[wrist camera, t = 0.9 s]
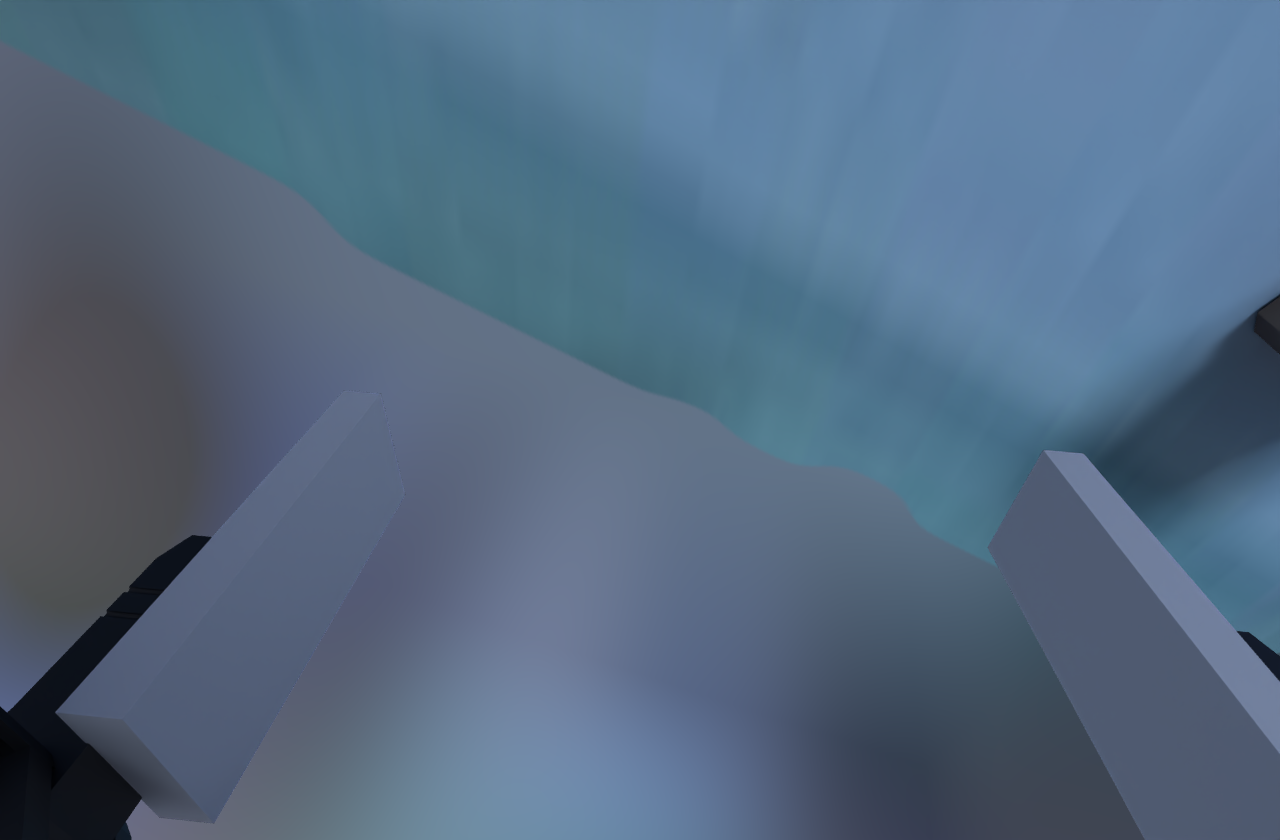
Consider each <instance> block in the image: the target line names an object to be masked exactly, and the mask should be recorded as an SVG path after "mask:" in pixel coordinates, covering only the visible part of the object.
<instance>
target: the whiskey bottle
mask: <svg viewBox="0 0 1280 840" xmlns="http://www.w3.org/2000/svg"><path fill="white" fill-rule="evenodd" d="M1254 332H1255V333H1256V334H1257V335H1258V336H1260V337H1261V338H1262V339H1263V340H1264V341H1265V342H1266V343H1267V344H1269V345H1270V346H1271V347H1272V348H1273V349H1274V350H1275V351H1276V352H1277V353H1279V354H1280V297H1279V298H1277V299H1276V300H1275V301H1273V302H1272V303H1270V304H1269V305H1268V306H1266V307H1265V308H1263V309H1262V310H1261V311H1259V312H1258V314H1257V319H1256V324H1255V329H1254Z"/></svg>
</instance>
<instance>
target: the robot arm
mask: <svg viewBox="0 0 1280 840" xmlns="http://www.w3.org/2000/svg"><path fill="white" fill-rule="evenodd" d="M404 496H405V490H404V486H403V482H402V478H401V474H400V470H399V466H398V461H397V457H396V453H395V449H394V445H393V441H392V437H391V432H390V428H389V424H388V420H387V416H386V412H385V407H384V403H383V399H382V395H381V393H370V392H358V391H346V390H344V391H343V392H342V393H341V394H340V395H339V396H338V397H337V399H336V400H335V401H334V402H333V403H332V404H331V405H330V406H329V407H328V409H327V410H326V411H325V412H324V413H323V414H322V415H321V416H320V418H319V419H318V420H317V421H316V422H315V423H314V424H313V425H312V426H311V428H310V429H309V430H308V431H307V432H306V433H305V434H304V435H303V436H302V438H301V439H300V440H299V441H298V442H297V443H296V445H294V447H293V448H292V449H291V450H290V451H289V452H288V453H287V454H286V455H285V457H284V458H283V459H282V460H281V461H280V462H279V463H278V464H277V465H276V467H275V468H274V469H273V470H272V471H271V472H270V473H269V474H268V475H267V477H266V478H265V479H264V480H263V481H262V482H261V483H260V485H259V486H258V487H257V488H256V489H255V490H254V491H253V492H252V493H251V495H250V496H249V497H248V498H247V499H246V500H245V501H244V502H243V504H242V505H241V506H240V507H239V508H238V509H237V510H236V511H235V512H234V514H233V515H232V516H231V517H230V518H229V519H228V520H227V521H226V523H224V525H223V526H222V527H221V528H220V529H219V530H218V531H217V532H216V534H215V535H214V536H213V537H206V536H196V535H192V536H190V537H189V538H187V539H185V540H184V541H182V542H181V543H179V544H178V545H176V546H175V547H173V548H172V549H170V550H169V551H167V552H166V553H164V554H162V555H161V556H159V557H158V558H157V559H155V560H154V561H153V562H152V564H151V565H150V566H149V567H148V568H147V569H146V570H145V571H144V572H143V573H142V574H141V575H140V576H139V577H138V578H137V579H136V580H135V581H134V582H133V583H132V584H131V585H130V587H129V588H130V589H129V591H128V592H124V593H123V594H122V595H121V596H120V597H119V598H118V599H117V600H116V601H115V602H114V603H113V604H112V605H111V606H110V607H109V608H108V609H107V614H106V615H105V616H104V617H101V616H100V618H99V619H98V620H97V621H96V622H95V623H94V624H93V625H92V626H91V627H90V628H89V629H88V630H87V631H86V632H85V633H84V634H83V635H82V636H81V637H80V638H79V639H78V641H76V642H75V643H74V645H73V646H72V647H71V648H70V649H69V650H68V651H67V652H66V653H65V654H64V655H63V656H62V657H61V658H60V659H59V660H58V661H57V662H56V663H55V664H54V665H53V666H52V667H51V668H50V669H49V670H48V672H47V673H46V674H45V675H44V676H43V677H42V678H41V679H40V680H39V681H38V682H37V683H36V684H35V685H34V686H33V687H32V688H31V689H30V690H29V691H28V692H27V693H26V694H25V695H24V697H23V698H22V699H21V700H20V701H19V702H18V703H17V704H16V705H15V706H14V707H13V708H12V709H11V710H10V711H8V712H6V711H5V710H3V709H2V708H1V707H0V840H131V835H130V832H129V829H128V826H127V823H126V820H127V819H128V817H129V816H130V815H131V813H132V811H133V810H134V809H135V807H136V806H137V804H138V803H139V802H140V800H141V799H142V800H143V801H144V802H145V803H146V804H147V805H148V806H149V807H150V808H151V809H152V810H153V811H154V812H155V813H156V814H157V815H158V816H159V817H160V818H167V819H177V820H186V821H195V822H204V823H215V821H216V819H217V817H218V816H219V814H220V812H221V811H222V809H223V807H224V805H225V804H226V802H227V800H228V798H229V797H230V795H231V794H232V792H233V790H234V788H235V787H236V785H237V783H238V781H239V780H240V778H241V776H242V775H243V773H244V771H245V769H246V768H247V766H248V764H249V762H250V761H251V759H252V757H253V756H254V754H255V752H256V751H257V749H258V747H259V745H260V744H261V742H262V740H263V738H264V737H265V735H266V733H267V732H268V730H269V728H270V726H271V725H272V723H273V721H274V720H275V718H276V716H277V714H278V713H279V711H280V709H281V708H282V706H283V704H284V703H285V701H286V699H287V697H288V696H289V694H290V692H291V690H292V689H293V687H294V685H295V684H296V682H297V680H298V678H299V677H300V675H301V673H302V672H303V670H304V668H305V666H306V664H307V663H308V661H309V660H310V658H311V656H312V654H313V653H314V651H315V649H316V647H317V646H318V644H319V642H320V640H321V639H322V637H323V636H324V634H325V632H326V630H327V628H328V627H329V625H330V623H331V622H332V620H333V618H334V617H335V615H336V613H337V611H338V610H339V608H340V606H341V605H342V603H343V601H344V599H345V598H346V596H347V594H348V592H349V591H350V589H351V587H352V585H353V584H354V582H355V580H356V579H357V577H358V575H359V574H360V572H361V570H362V568H363V566H364V565H365V563H366V562H367V560H368V558H369V557H370V555H371V553H372V551H373V549H374V548H375V546H376V544H377V543H378V541H379V539H380V538H381V536H382V534H383V532H384V531H385V529H386V527H387V526H388V524H389V522H390V520H391V519H392V517H393V515H394V513H395V512H396V510H397V508H398V507H399V505H400V503H401V502H402V500H403V498H404ZM988 549H989V551H990V553H991V555H992V556H993V558H994V560H995V562H996V564H997V566H998V568H999V569H1000V571H1001V573H1002V575H1003V577H1004V579H1005V581H1006V582H1007V584H1008V586H1009V588H1010V590H1011V592H1012V594H1013V595H1014V597H1015V599H1016V601H1017V603H1018V605H1019V607H1020V608H1021V610H1022V612H1023V614H1024V616H1025V618H1026V620H1027V621H1028V623H1029V625H1030V627H1031V629H1032V631H1033V632H1034V634H1035V636H1036V638H1037V640H1038V642H1039V644H1040V646H1041V647H1042V649H1043V651H1044V653H1045V655H1046V657H1047V659H1048V660H1049V662H1050V664H1051V666H1052V668H1053V670H1054V672H1055V673H1056V675H1057V677H1058V679H1059V681H1060V683H1061V684H1062V686H1063V688H1064V690H1065V692H1066V694H1067V696H1068V698H1069V699H1070V701H1071V703H1072V705H1073V707H1074V709H1075V711H1076V712H1077V714H1078V716H1079V718H1080V720H1081V722H1082V724H1083V725H1084V727H1085V729H1086V731H1087V733H1088V735H1089V737H1090V739H1091V740H1092V742H1093V744H1094V746H1095V748H1096V750H1097V751H1098V753H1099V755H1100V757H1101V759H1102V761H1103V763H1104V764H1105V766H1106V768H1107V770H1108V772H1109V774H1110V776H1111V778H1112V779H1113V781H1114V783H1115V785H1116V787H1117V789H1118V791H1119V792H1120V794H1121V796H1122V798H1123V800H1124V802H1125V803H1126V805H1127V807H1128V809H1129V811H1130V813H1131V815H1132V816H1133V818H1134V820H1135V822H1136V824H1137V826H1138V827H1139V830H1140V831H1141V833H1142V835H1143V837H1144V838H1145V840H1280V656H1279V655H1278V654H1276V653H1275V652H1274V651H1272V650H1271V649H1270V648H1268V647H1267V646H1266V645H1265V644H1263V643H1262V642H1261V641H1259V640H1258V639H1257V638H1256V637H1254V636H1253V635H1252V634H1250V633H1249V632H1241V631H1236V630H1235V629H1234V628H1233V627H1232V626H1231V624H1230V623H1229V622H1228V621H1227V620H1226V619H1225V617H1224V616H1223V615H1222V614H1221V613H1220V612H1219V611H1218V609H1217V608H1216V607H1215V606H1214V605H1213V604H1212V602H1211V601H1210V600H1209V599H1208V598H1207V597H1206V595H1205V594H1204V593H1203V592H1202V591H1201V590H1200V588H1199V587H1198V586H1197V585H1196V584H1195V583H1194V581H1193V580H1192V579H1191V578H1190V577H1189V576H1188V574H1187V573H1186V572H1185V571H1184V570H1183V569H1182V568H1181V566H1180V565H1179V564H1178V563H1177V562H1176V561H1175V559H1174V558H1173V557H1172V556H1171V555H1170V554H1169V552H1168V551H1167V550H1166V549H1165V548H1164V547H1163V545H1162V544H1161V543H1160V542H1159V541H1158V540H1157V538H1156V537H1155V536H1154V535H1153V534H1152V533H1151V532H1150V530H1149V529H1148V528H1147V527H1146V526H1145V525H1144V523H1143V522H1142V521H1141V520H1140V519H1139V518H1138V516H1137V515H1136V514H1135V513H1134V512H1133V511H1132V509H1131V508H1130V507H1129V506H1128V505H1127V504H1126V502H1125V501H1124V500H1123V499H1122V498H1121V497H1120V495H1119V494H1118V493H1117V492H1116V491H1115V490H1114V489H1113V487H1112V486H1111V485H1110V484H1109V483H1108V482H1107V480H1106V479H1105V478H1104V477H1103V476H1102V475H1101V473H1100V472H1099V471H1098V470H1097V469H1096V468H1095V466H1094V465H1093V464H1092V463H1091V462H1090V461H1089V459H1088V458H1087V457H1086V456H1085V455H1084V454H1083V453H1071V452H1060V451H1048V450H1043V452H1042V453H1041V455H1040V457H1039V459H1038V460H1037V462H1036V464H1035V466H1034V467H1033V469H1032V471H1031V473H1030V474H1029V476H1028V478H1027V480H1026V481H1025V483H1024V485H1023V487H1022V488H1021V490H1020V492H1019V494H1018V495H1017V497H1016V499H1015V501H1014V502H1013V504H1012V506H1011V507H1010V509H1009V511H1008V513H1007V514H1006V516H1005V518H1004V520H1003V521H1002V523H1001V525H1000V527H999V528H998V530H997V532H996V534H995V535H994V537H993V539H992V541H991V542H990V544H989V546H988Z"/></svg>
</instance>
